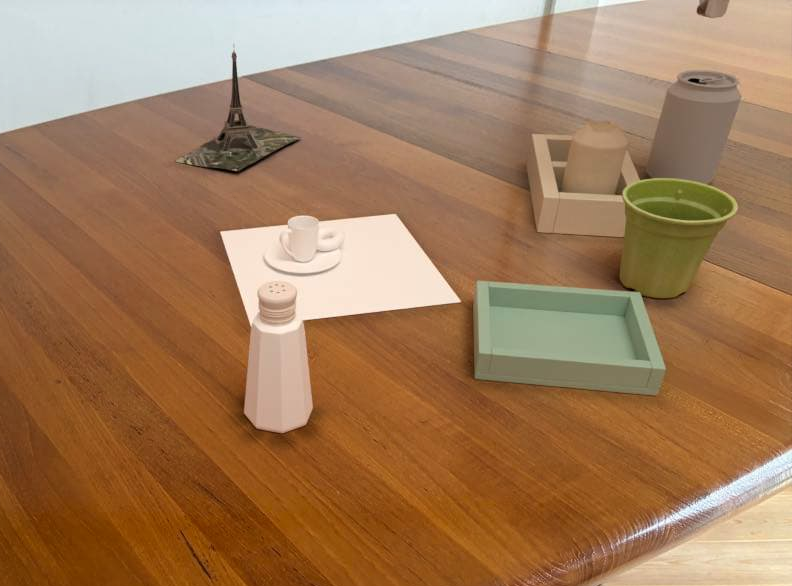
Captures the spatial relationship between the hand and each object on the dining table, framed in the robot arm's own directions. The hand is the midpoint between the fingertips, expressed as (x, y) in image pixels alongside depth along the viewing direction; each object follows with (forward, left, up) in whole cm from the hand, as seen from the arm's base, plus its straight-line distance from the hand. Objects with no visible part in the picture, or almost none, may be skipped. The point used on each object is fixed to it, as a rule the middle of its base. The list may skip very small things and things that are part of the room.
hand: (667, 5), depth 72 cm
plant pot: (-3, +9, -23) cm, 25 cm away
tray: (+7, +21, -23) cm, 32 cm away
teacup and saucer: (+28, +9, -23) cm, 37 cm away
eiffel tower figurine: (+44, -21, -23) cm, 53 cm away
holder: (+2, -11, -23) cm, 25 cm away
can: (-10, -18, -23) cm, 31 cm away
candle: (+2, -6, -23) cm, 24 cm away
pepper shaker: (+29, +34, -23) cm, 50 cm away
